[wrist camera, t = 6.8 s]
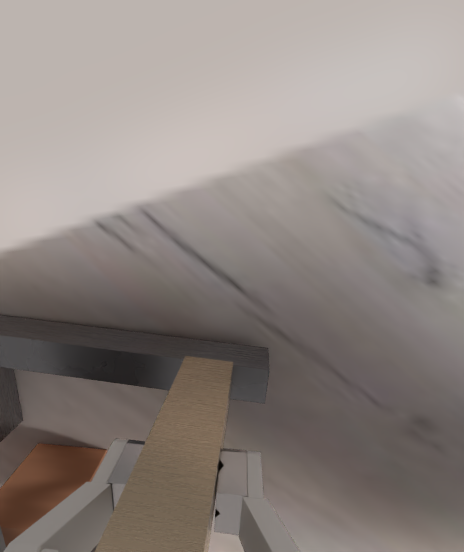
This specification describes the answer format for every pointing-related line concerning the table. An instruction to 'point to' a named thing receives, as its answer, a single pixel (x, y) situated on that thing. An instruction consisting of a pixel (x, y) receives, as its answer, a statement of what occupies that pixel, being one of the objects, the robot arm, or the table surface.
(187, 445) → the tan-tipped l-shaped bar
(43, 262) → the table surface
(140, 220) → the table surface
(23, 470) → the cube
